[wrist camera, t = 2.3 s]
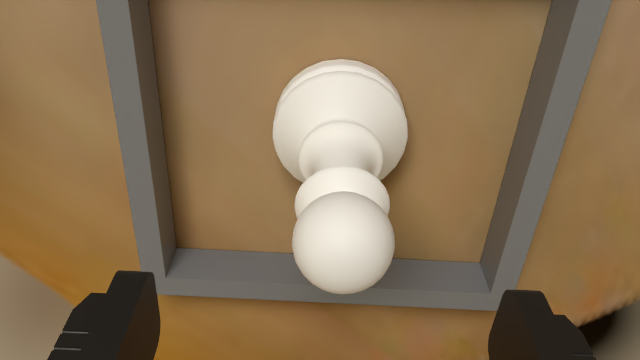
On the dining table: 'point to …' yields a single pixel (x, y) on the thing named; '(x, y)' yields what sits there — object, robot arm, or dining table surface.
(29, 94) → the dining table surface
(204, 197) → the dining table surface
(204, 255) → the grey square frame
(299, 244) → the chess pawn
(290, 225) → the dining table surface
